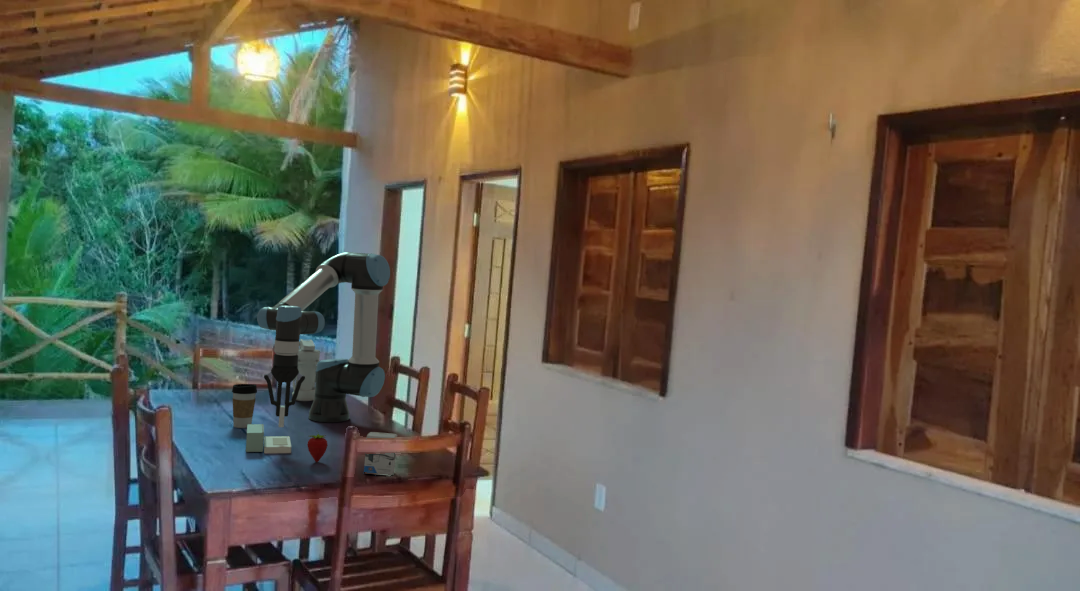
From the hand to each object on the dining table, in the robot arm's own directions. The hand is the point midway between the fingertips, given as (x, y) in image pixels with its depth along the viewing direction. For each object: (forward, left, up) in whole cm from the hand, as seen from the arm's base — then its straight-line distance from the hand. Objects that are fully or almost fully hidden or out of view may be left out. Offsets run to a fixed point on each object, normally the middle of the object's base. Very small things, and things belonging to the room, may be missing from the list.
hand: (281, 426), depth 246 cm
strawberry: (-10, +18, -7) cm, 22 cm away
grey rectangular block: (+8, 0, -7) cm, 10 cm away
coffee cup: (+12, -31, -7) cm, 34 cm away
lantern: (-12, -85, -7) cm, 86 cm away
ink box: (-27, +32, -7) cm, 42 cm away
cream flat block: (+1, 0, -7) cm, 7 cm away
